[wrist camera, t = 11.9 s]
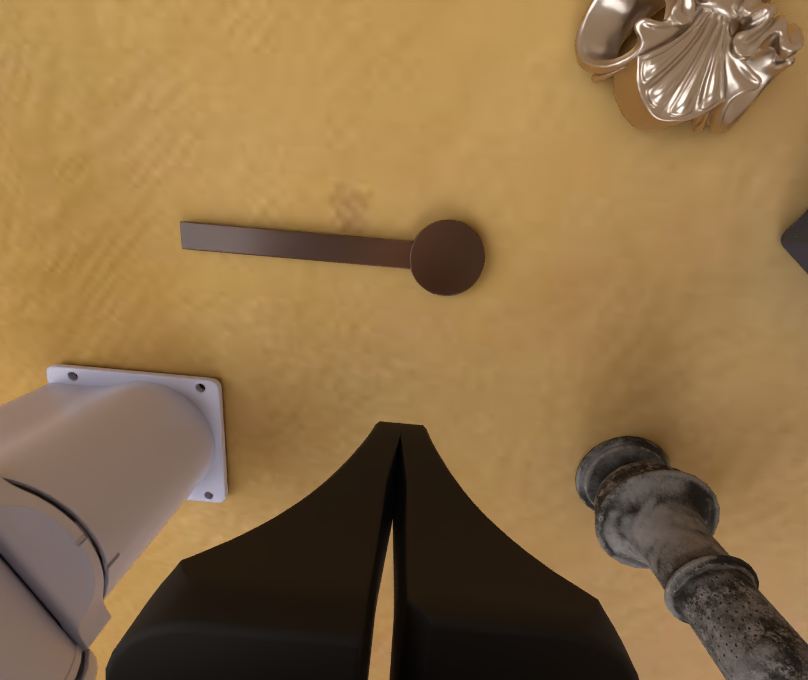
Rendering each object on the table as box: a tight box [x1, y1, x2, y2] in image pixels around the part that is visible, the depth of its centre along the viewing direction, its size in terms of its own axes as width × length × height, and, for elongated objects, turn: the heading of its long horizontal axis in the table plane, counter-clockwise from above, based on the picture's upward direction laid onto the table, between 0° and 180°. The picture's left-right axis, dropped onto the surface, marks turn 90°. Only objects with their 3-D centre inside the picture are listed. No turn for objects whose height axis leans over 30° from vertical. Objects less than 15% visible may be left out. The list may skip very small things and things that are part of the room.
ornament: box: [575, 0, 804, 134], centre depth 15 cm, size 8×7×4 cm
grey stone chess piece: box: [575, 437, 808, 680], centre depth 17 cm, size 6×6×12 cm
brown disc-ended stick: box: [180, 220, 485, 296], centre depth 19 cm, size 15×4×1 cm, turn 85°
